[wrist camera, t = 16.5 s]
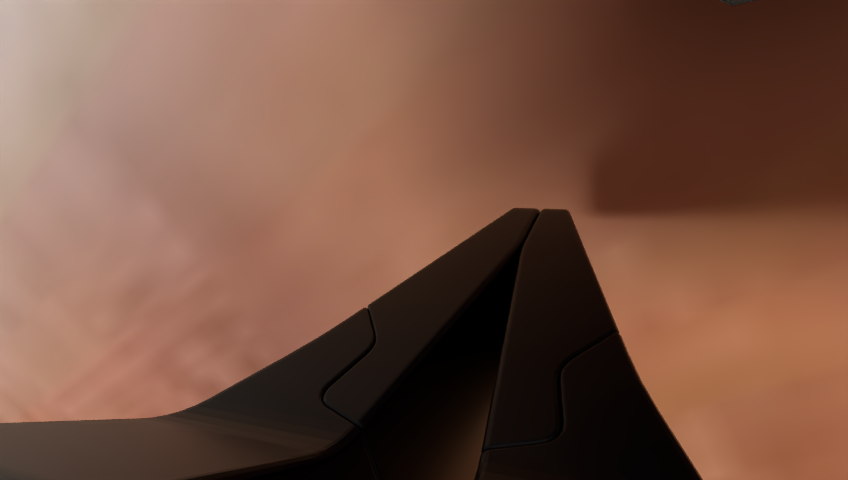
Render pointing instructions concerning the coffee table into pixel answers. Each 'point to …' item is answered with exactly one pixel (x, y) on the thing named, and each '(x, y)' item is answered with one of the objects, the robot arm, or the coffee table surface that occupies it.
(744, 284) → the coffee table surface
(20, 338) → the coffee table surface
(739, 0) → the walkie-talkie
